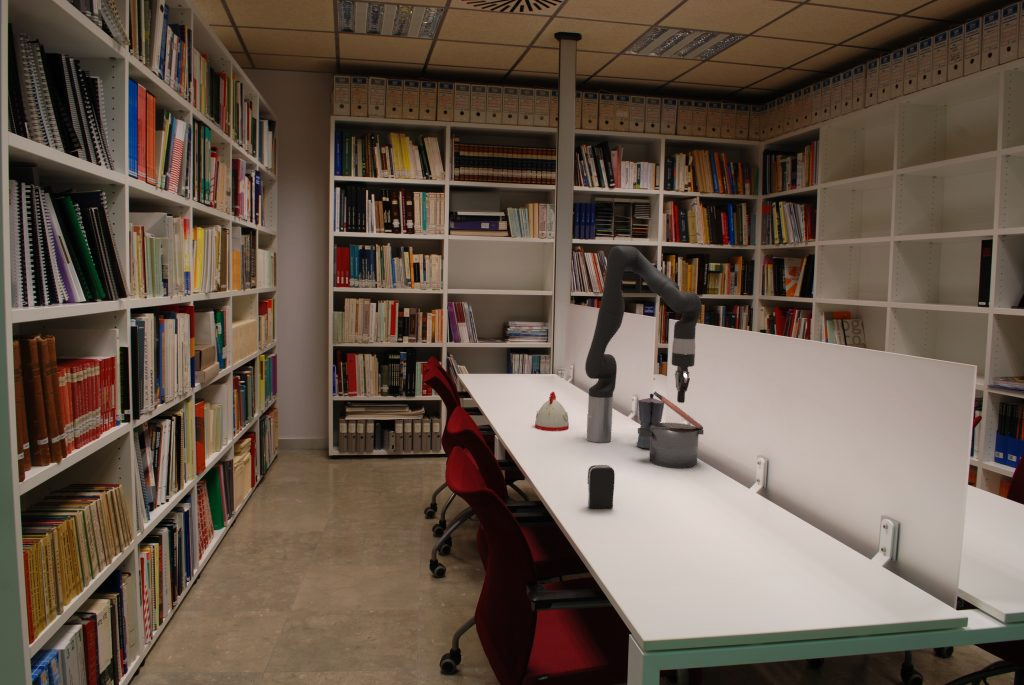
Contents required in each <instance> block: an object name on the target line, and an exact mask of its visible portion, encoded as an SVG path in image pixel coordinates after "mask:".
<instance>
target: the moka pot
mask: <svg viewBox="0 0 1024 685" xmlns="http://www.w3.org/2000/svg"><path fill="white" fill-rule="evenodd" d="M654 397H655V395H654V394H653V393H650V394H649V397H647V398H643V399H639V400H638V401H637V402H638V418H639V421H640V427H639V428H650V430H651V425H652V424H656V423H662V418H663V414H664V413H663V412H664V407H665V403H664V402H662V401H661V400H660V399H658V398H657V399H656V398H654ZM636 446H637V447H638V448H642V449H647V450H650V437H645V436H640V435H639V434H638V438H637V443H636Z"/></svg>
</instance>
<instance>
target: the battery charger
mask: <svg viewBox="0 0 1024 685" xmlns="http://www.w3.org/2000/svg"><path fill="white" fill-rule="evenodd" d="M615 478H616V477H615V470H614V468H613V467H611V466H610V465H606V464H605V465H603V464H596V465H592V466H591V465H590V467H588V470H587V485H588V488H587V489H588V490H587V491H588V501H587V507H588V508H589V509H612V508H613V507H614V494H615V493H614V492H615Z"/></svg>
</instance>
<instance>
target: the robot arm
mask: <svg viewBox="0 0 1024 685" xmlns="http://www.w3.org/2000/svg"><path fill="white" fill-rule="evenodd" d="M605 268H606V269H605V278H604V285H603V291H602V296H601V299H600V300H601V301H600V304H599V309H598V313H597V319H596V324H595V328H594V332H593V337H592V341H591V344H590V348H589V350H588V353H587V357H586V359H585V367H584V370H585V374H586V376H587V377H588V378H590V379H593V380H596V379H597V381H596V383H595V384H593V385H592V386H591V387H590V388H588V405H587V406H588V408H587V409H588V410H587V421H586V440H587V442H593V443H609V442H611V441H612V427H613V426H612V424H613V402H614V391H615V389H616V384H617V370H618V368H617V361H616V358H615V357H614V355H612V354H609V353H607V354H606V353H605V352H606V349H607V348H608V347H607V346H608V345H609V343H610V342H611V340H612V338H613V337H614V336H615V335H616V334H617V332H618V331H619V329H620V328H621V326H622V323H623V319H624V316H625V311H626V310H625V308H626V307H625V306H626V305H625V300H624V295H623V293H622V281H623V280H622V279H623V275H624V273H625V272H631V273H634V274H637V275H639V276H640V277H641V278H642V279H643V280H644V281H645V284H646V285H647V287H648V288H649V289H650V290H651V291H652V292H653V293H655V295H657V296H658V297H660V298H661V299H662V300H663V301H664V303H666V305H667V306H668V307H669V308H670V309H671V310H672V311H674V312H675V313H677V314H681V317H680V319H679V320H677V321H675V323H674V327H673V340H672V346H671V347H672V348H671V349H672V350H671V365H672V366H674V367H676V370H675V373H674V379H675V388H676V391H677V396H676V398H677V401H676V402H678V403H679V404H684V403H685V401H686V400H685V399H686V392H687V391H688V389H689V388H688V387H689V384H690V380H691V379H690V372H689V367H690V368H691V367H694V366H695V360H696V359H695V357H696V326H697V324H698V321H699V317H700V315H701V310H702V301H701V298H700V296H699V294H697V293H695V292H684V291H682V290H680V286H679V284H678V283H677V282H676V281H674V280H673V279H671V278H670V277H668V276H667V275H666V274H665V273H663V272H661V271H660V270H659V269H658V268H656V266H655V265H654V264H652V263H651V261H650V260H648V259H647V258H646V257H645V255H643V254H642V253H641V251H640V250H639V249H638V248H637V247H635V246H631V245H615V246H613V247H612V248H611V249H610V250H609V253H608V256H607V261H606V267H605Z"/></svg>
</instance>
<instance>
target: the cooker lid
mask: <svg viewBox="0 0 1024 685" xmlns="http://www.w3.org/2000/svg"><path fill="white" fill-rule="evenodd" d="M652 394H654V397H656V398H657V399H658V400H660V401H662V402H664V405H666V406H667V407H668V408H670V409H671V410H672V411H673V412H675V413H676V414H677V415H679V416H680V417H682V418H683V419H684V420H686V421H687V422H688V423H690V424H691V426H695V427H697V428H698V429H700V430H702V429H703V430H704V427H703V425H701V423H699V422H698V421H696V420H695V419H694V418H693V417H692V416H690V415H689V414H687V413H686V412H685V411H683V410H682V409H681V408H679V407H678V406H677V405H676V404H675V403H673V402H671V400H669V399H667V398H666V397H664V396H663V395H661V394H659V393H658V392H657V391H654V392H653V393H652Z"/></svg>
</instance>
